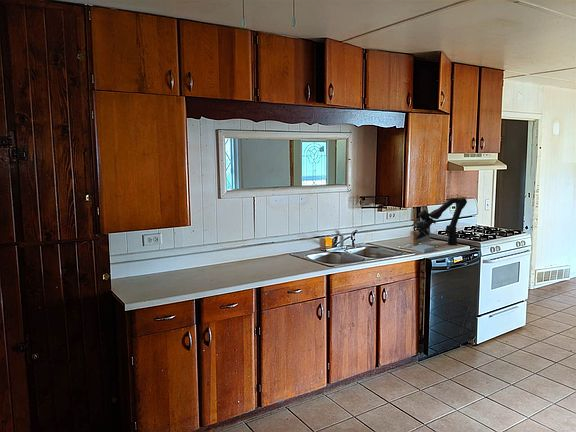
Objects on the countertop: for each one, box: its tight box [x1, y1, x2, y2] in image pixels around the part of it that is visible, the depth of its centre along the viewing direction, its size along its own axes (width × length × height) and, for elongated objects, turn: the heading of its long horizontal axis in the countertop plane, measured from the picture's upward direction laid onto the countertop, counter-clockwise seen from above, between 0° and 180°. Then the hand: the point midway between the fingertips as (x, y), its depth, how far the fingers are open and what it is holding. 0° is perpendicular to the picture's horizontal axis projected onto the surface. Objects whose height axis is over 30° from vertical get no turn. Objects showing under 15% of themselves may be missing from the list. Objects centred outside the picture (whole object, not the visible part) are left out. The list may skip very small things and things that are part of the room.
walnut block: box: [409, 230, 420, 249], centre depth 378 cm, size 5×5×13 cm
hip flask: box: [414, 217, 431, 243], centre depth 399 cm, size 16×4×20 cm, turn 116°
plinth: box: [412, 244, 436, 253], centre depth 367 cm, size 12×12×3 cm
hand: (413, 238), depth 378 cm, fingers open, 9 cm apart
